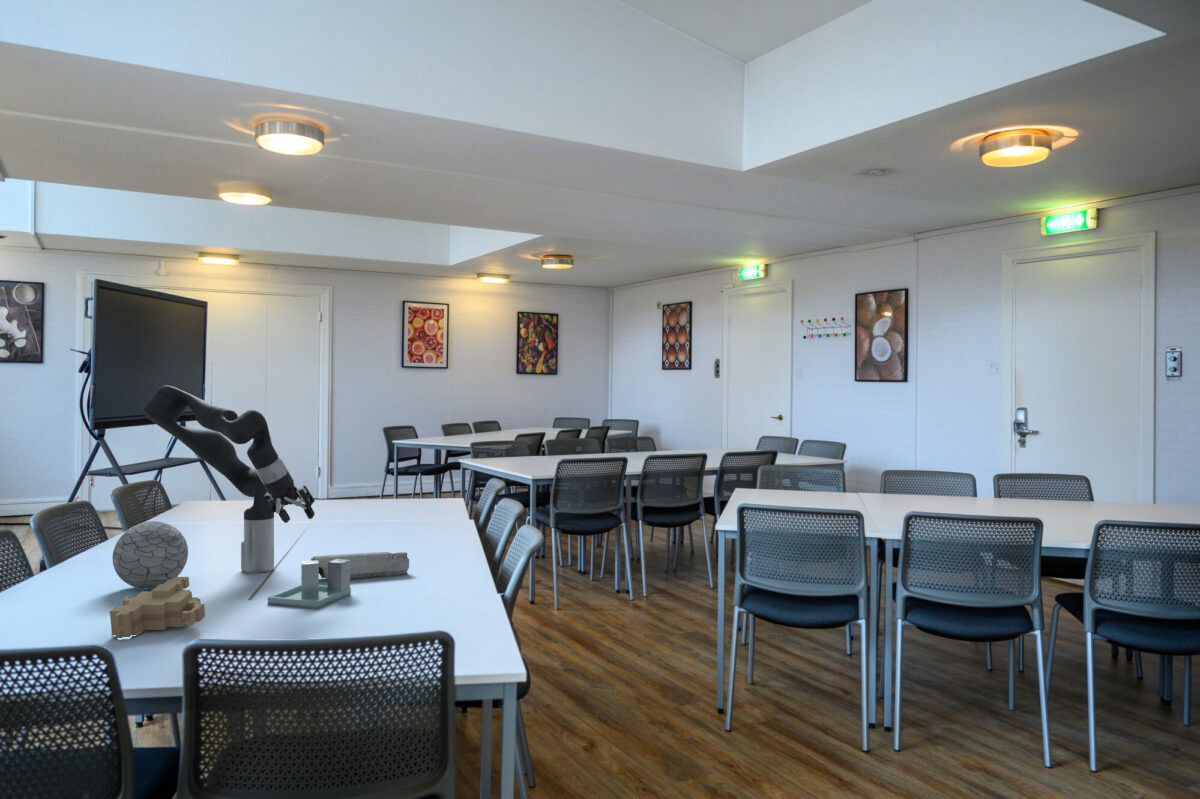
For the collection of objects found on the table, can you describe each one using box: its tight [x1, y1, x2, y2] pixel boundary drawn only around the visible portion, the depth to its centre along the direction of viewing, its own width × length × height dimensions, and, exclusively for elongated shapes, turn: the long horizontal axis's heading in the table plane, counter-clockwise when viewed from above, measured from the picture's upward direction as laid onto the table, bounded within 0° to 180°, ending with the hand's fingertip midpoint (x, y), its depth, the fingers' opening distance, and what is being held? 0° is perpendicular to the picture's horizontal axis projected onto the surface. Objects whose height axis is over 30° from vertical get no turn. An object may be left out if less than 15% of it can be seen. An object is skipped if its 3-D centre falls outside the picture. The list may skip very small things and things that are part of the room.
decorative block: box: [310, 551, 410, 581], centre depth 255 cm, size 8×30×8 cm, turn 114°
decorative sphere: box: [112, 520, 189, 589], centre depth 239 cm, size 20×20×20 cm
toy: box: [109, 576, 206, 639], centre depth 200 cm, size 10×20×20 cm
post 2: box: [327, 559, 351, 595], centre depth 232 cm, size 4×4×10 cm
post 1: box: [300, 560, 320, 600], centre depth 228 cm, size 4×4×10 cm
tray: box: [267, 584, 352, 610], centre depth 228 cm, size 16×16×2 cm
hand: (299, 519), depth 236 cm, fingers open, 8 cm apart
